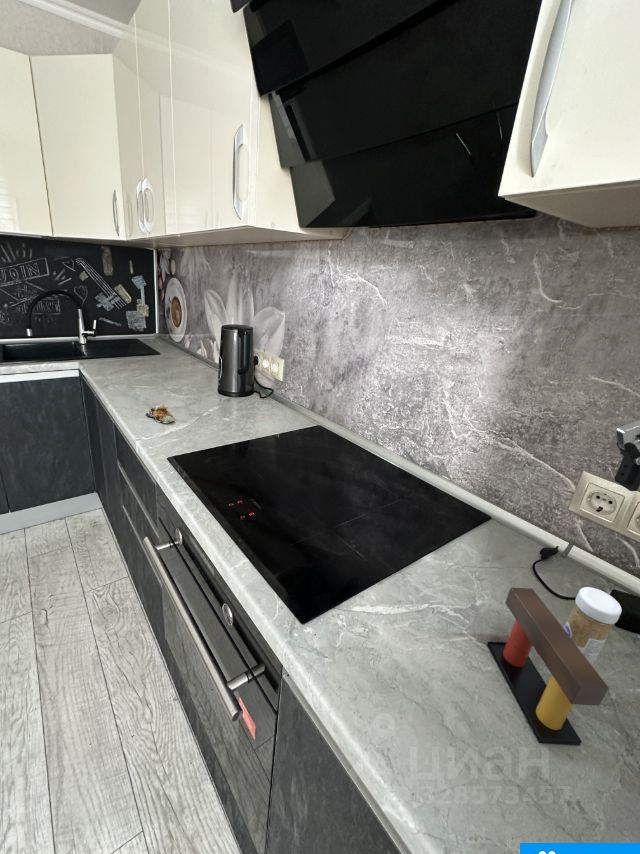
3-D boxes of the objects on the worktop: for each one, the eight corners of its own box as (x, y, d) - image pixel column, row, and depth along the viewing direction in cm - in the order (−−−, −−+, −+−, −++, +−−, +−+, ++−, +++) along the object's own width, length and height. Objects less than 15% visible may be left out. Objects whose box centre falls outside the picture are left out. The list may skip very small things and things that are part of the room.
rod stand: (519, 646, 59) (535, 607, 56) (580, 745, 47) (604, 702, 44) (486, 645, 59) (501, 605, 56) (539, 743, 47) (560, 699, 44)
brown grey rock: (163, 425, 128) (163, 415, 126) (143, 415, 135) (143, 405, 134) (181, 420, 133) (181, 410, 132) (161, 410, 140) (161, 401, 139)
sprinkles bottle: (541, 653, 58) (571, 584, 53) (571, 655, 58) (604, 586, 53) (562, 684, 54) (597, 612, 49) (594, 686, 54) (632, 614, 49)
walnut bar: (599, 706, 43) (609, 688, 42) (571, 704, 43) (580, 686, 42) (526, 604, 56) (532, 588, 55) (504, 602, 56) (510, 587, 55)
